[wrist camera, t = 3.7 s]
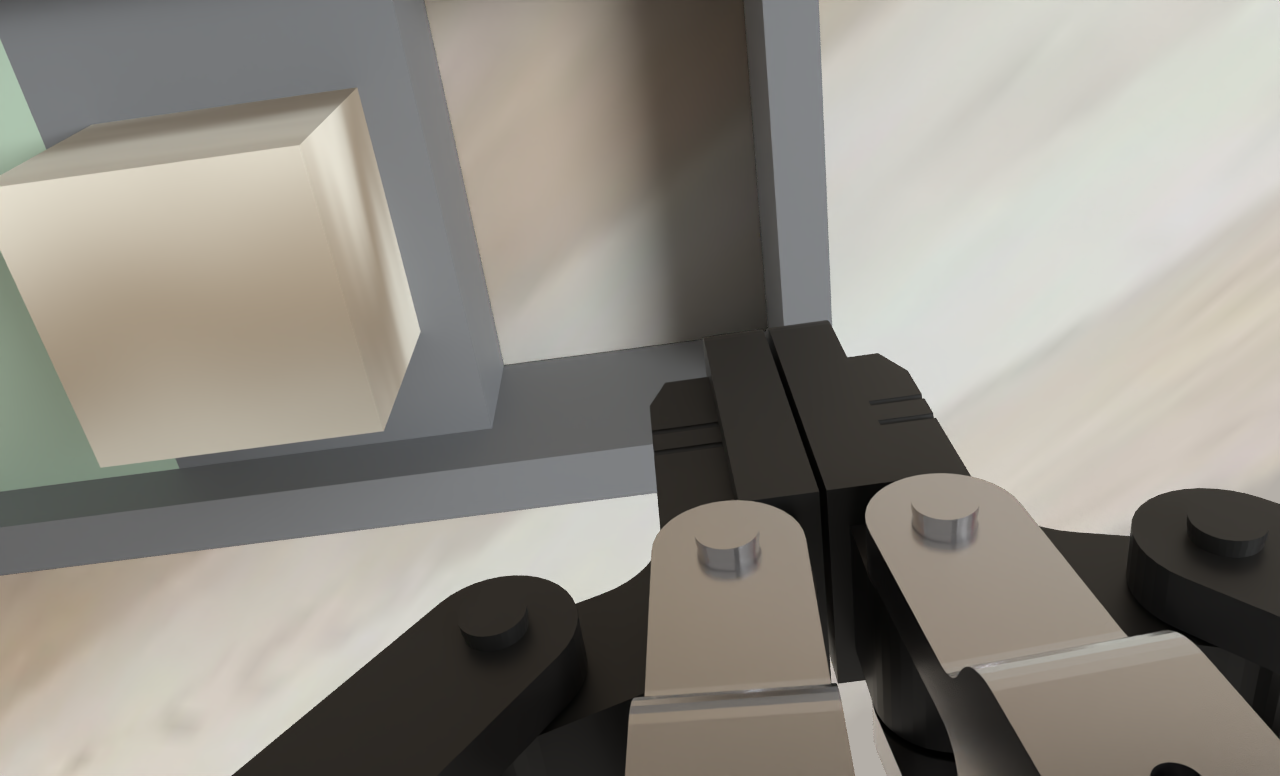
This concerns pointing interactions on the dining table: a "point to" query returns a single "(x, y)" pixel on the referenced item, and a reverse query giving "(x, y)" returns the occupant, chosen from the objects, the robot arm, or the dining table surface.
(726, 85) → the dining table surface
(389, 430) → the trap lane
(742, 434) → the robot arm
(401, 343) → the block
